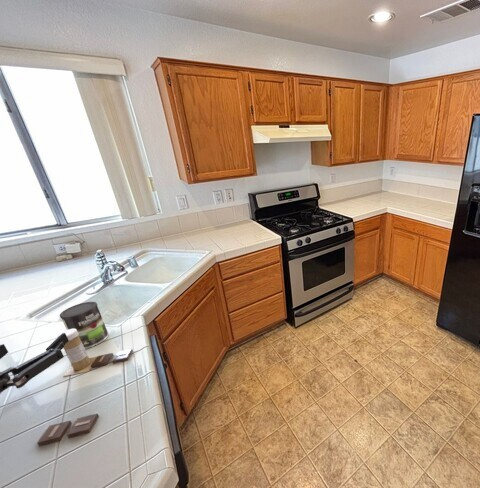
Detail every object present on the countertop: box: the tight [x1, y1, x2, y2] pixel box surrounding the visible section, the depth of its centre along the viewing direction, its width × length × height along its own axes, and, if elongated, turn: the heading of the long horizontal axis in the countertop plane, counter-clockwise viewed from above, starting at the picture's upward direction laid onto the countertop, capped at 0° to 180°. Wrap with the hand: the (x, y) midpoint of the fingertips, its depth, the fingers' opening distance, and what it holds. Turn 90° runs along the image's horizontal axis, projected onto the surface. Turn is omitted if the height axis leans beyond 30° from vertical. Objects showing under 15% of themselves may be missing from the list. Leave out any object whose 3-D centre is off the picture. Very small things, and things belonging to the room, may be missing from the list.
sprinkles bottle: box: [57, 329, 90, 370], centre depth 85 cm, size 5×5×14 cm
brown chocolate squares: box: [36, 413, 100, 447], centre depth 66 cm, size 10×4×1 cm, turn 106°
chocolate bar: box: [62, 348, 134, 378], centre depth 89 cm, size 18×7×1 cm, turn 106°
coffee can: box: [59, 301, 110, 350], centre depth 98 cm, size 10×10×14 cm
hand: (35, 342), depth 72 cm, fingers open, 13 cm apart
